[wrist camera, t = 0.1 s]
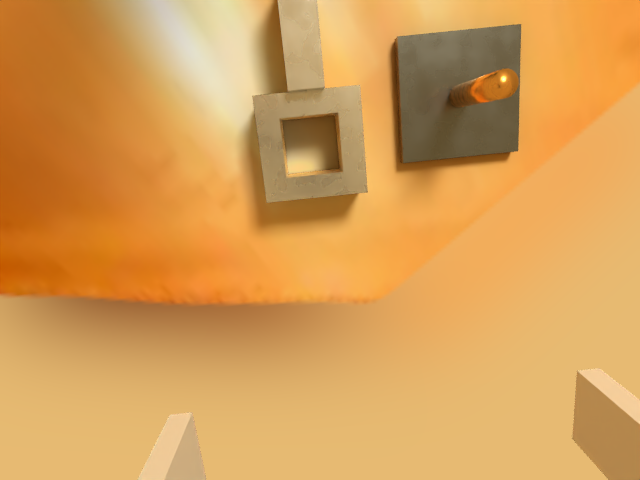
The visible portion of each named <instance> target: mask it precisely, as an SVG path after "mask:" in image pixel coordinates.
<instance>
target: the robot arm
mask: <svg viewBox="0 0 640 480" xmlns="http://www.w3.org/2000/svg"><path fill="white" fill-rule="evenodd" d="M573 440H574V441H575V442H576V443H577V445H578V446H579V447H580V448H581V449H582V450H583V451H584V453H586V455H587V456H588V457H589V458H590V459H591V460H592V461H593V462H594V464H595V465H596V466H597V467H598V468H599V469H600V471H601V472H603V474H604V475H605V476H606V477H607V478H608V480H640V400H639V399H638V398H637V397H635V396H634V395H633V394H631V393H630V392H629V391H628V390H626V389H625V388H624V387H623V386H621V385H620V384H619V383H617V382H616V381H615V380H614V379H612V378H611V377H610V376H608V375H607V374H606V373H605V372H603V371H602V370H601V369H599V368H598V369H590V370H581V371H577V380H576V395H575V409H574V424H573ZM138 480H206V476H205V471H204V466H203V461H202V457H201V452H200V447H199V442H198V437H197V433H196V428H195V423H194V418H193V413H192V412H191V413H181V414H172V415H169V417H168V419H167V421H166V423H165V425H164V427H163V429H162V431H161V433H160V435H159V437H158V440H157V441H156V444H155V445H154V447H153V450H152V452H151V454H150V456H149V458H148V460H147V462H146V464H145V466H144V468H143V470H142V472H141V474H140V476H139V478H138Z"/></svg>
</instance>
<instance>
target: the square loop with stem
mask: <svg viewBox="0 0 640 480" xmlns="http://www.w3.org/2000/svg"><path fill="white" fill-rule="evenodd" d="M278 8H279V17H280V26H281V35H282V44H283V53H284V62H285V70H286V79H287V88H288V92H285V93H276V94H266V95H256V96H252V97H253V104H254V112H255V119H256V127H257V134H258V142H259V149H260V157H261V164H262V171H263V179H264V186H265V194H266V201H267V203H270V202H279V201H289V200H299V199H308V198H318V197H327V196H337V195H347V194H356V193H366V192H368V191H367V177H366V162H365V148H364V134H363V120H362V105H361V91H360V85H354V86H344V87H335V88H325V84H324V73H323V62H322V51H321V40H320V29H319V18H318V7H317V0H278ZM324 88H325V89H324ZM332 115H335V121H336V133H337V144H338V156H339V168H340V169H332V170H322V171H312V172H303V173H293V174H288V166H287V158H286V149H285V141H284V132H283V124H282V121H283V120H292V119H302V118H312V117H322V116H332Z"/></svg>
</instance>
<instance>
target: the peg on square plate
mask: <svg viewBox="0 0 640 480" xmlns="http://www.w3.org/2000/svg"><path fill="white" fill-rule="evenodd" d="M520 48H521V24H518V25H508V26H498V27H488V28H478V29H468V30H458V31H448V32H438V33H429V34H419V35H409V36H399V37H397V38H396V39H395V51H396V72H397V92H398V113H399V134H400V155H401V163H408V162H417V161H427V160H437V159H446V158H456V157H466V156H475V155H485V154H495V153H504V152H514V151H518V134H519V91H520Z"/></svg>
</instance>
